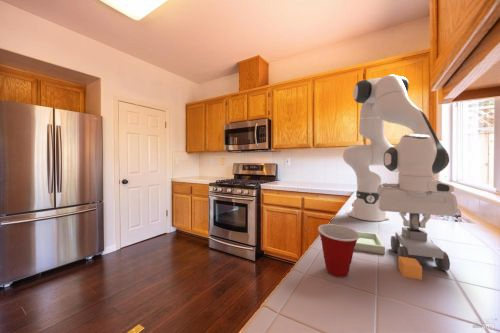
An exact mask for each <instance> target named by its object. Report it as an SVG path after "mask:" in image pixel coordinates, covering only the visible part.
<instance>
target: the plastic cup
mask: <svg viewBox="0 0 500 333" xmlns="http://www.w3.org/2000/svg"><path fill="white" fill-rule="evenodd" d="M317 231H318V232H319V236H320V241H321V246H322V254H323V259H324V265H325V269H326V272H327V273H328V274H329V275H331V276H334V277H338V278H344V277H348V275H349V273H350V268H351V264H352V261H353V256H354V252H355V250H354V247H355V245H356V242H357V240H358V239H359V238H360V235H359V233H358V232H356V231H357V230H355V229H352V228H350V227H348V226H345V225H341V224H340V225H339V224H335V223H333V224H332V223H326V224H325V223H324V224H321V225H319V226H318V227H317Z"/></svg>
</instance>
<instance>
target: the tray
mask: <svg viewBox="0 0 500 333" xmlns="http://www.w3.org/2000/svg"><path fill="white" fill-rule="evenodd" d="M355 231H356V232H358V233H359V235H360V238H359V239H358V240H357V242H356V245H355V247H354V251H360V252H368V253H374V254H381V255H385V254H386V253H385V252H386V246H385V245H384V242H383V241H382V238H381V237H380V235H379V233H376V232H368V231H367V232H366V231H360V230H359V231H358V230H355Z"/></svg>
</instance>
